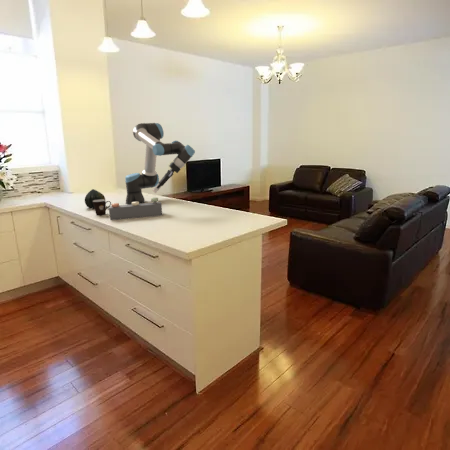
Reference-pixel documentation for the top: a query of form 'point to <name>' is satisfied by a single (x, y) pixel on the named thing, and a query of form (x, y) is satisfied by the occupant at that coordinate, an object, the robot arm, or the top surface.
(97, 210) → the coffee mug
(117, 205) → the button terracotta
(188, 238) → the top surface
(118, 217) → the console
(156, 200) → the button sage
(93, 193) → the squash
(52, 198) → the top surface
